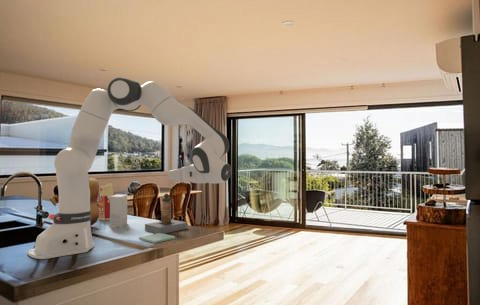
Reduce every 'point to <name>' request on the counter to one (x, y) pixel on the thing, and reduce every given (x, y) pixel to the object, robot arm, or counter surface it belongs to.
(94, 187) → the butternut squash
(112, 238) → the counter surface
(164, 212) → the pepper mill
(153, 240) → the plate
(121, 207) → the skincare box
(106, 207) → the milk carton
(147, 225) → the holder
